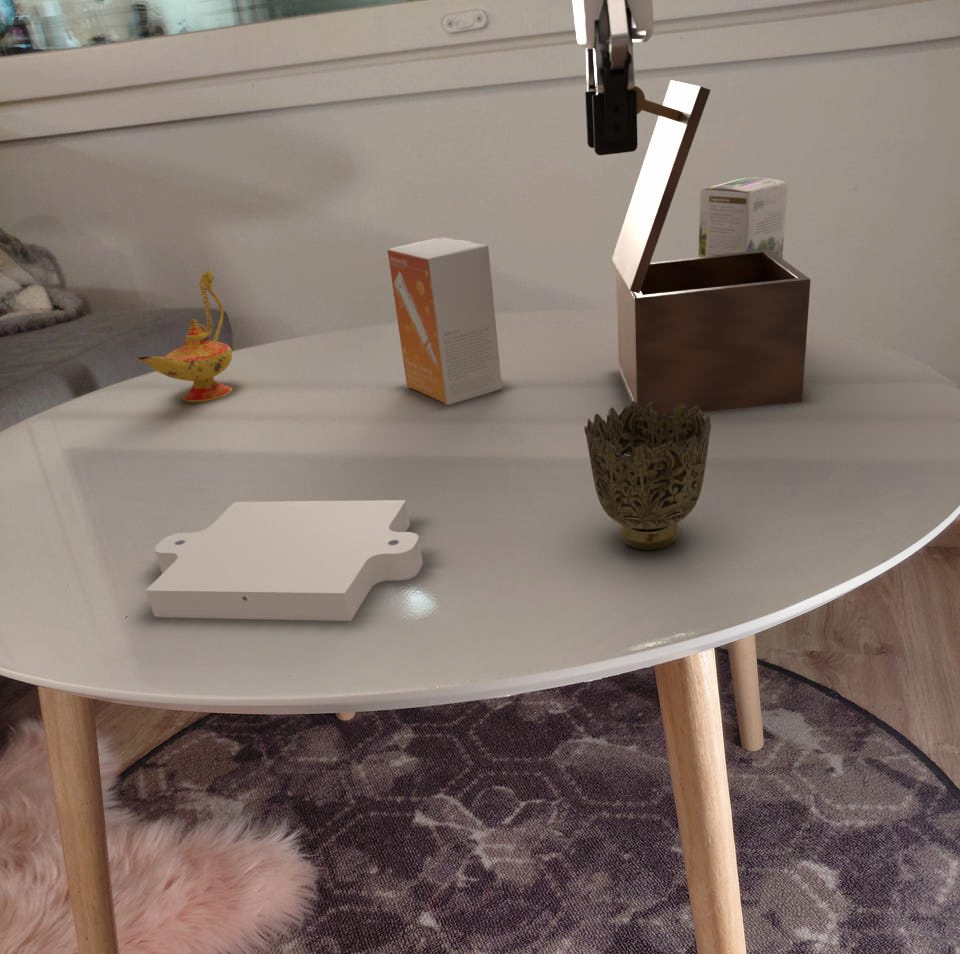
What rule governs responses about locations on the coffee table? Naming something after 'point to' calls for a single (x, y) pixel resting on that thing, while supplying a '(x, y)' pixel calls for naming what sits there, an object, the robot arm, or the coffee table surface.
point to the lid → (658, 177)
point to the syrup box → (742, 217)
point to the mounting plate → (285, 561)
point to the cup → (648, 469)
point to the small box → (446, 318)
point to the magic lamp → (198, 356)
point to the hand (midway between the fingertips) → (611, 146)
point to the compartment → (714, 332)
